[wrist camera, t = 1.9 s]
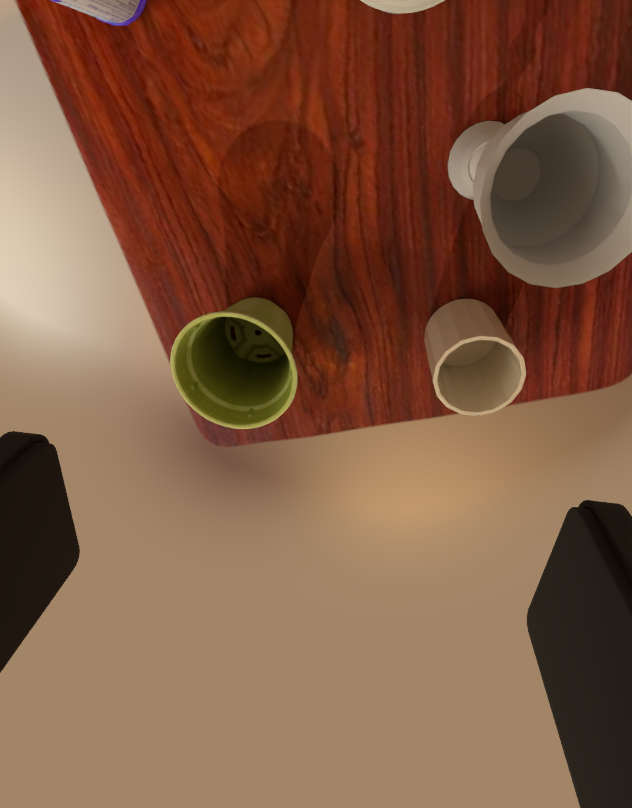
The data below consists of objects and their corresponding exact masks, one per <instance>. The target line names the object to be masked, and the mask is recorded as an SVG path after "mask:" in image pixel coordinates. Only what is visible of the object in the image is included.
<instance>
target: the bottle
mask: <svg viewBox="0 0 632 808" xmlns="http://www.w3.org/2000/svg"><path fill="white" fill-rule="evenodd" d="M51 1H54V2H56V3H59V4H62V5H64V6H67V7H70V8H72V9H75V10H78V11H80V12H83V13H86V14H88V15H91V16H93V17H95V18H97V19H99V20H101V21H103V22H106V23H109V24H111V25H118V26H121V25H128V24H130V23H132V22H134V21H135V20H136V19H137V18H138V17H139V16H140V15H141V14H142V12H143V10H144V7H145V5H146V2H147V0H51Z"/></svg>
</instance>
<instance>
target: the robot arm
mask: <svg viewBox="0 0 632 808" xmlns="http://www.w3.org/2000/svg"><path fill="white" fill-rule="evenodd" d="M79 552H80V550H79V545H78V540H77V536H76V531H75V527H74V523H73V519H72V514H71V510H70V506H69V502H68V497H67V493H66V489H65V485H64V480H63V476H62V472H61V467H60V463H59V459H58V455H57V451H56V448H55V447H54V445H52V444H49V441H48V439H47V438H46V437H45V436H43V435H40V434H31V433H23V432H15V431H13V432H8V433H6V434H4V435H3V436H1V437H0V672H1V671H2V670H3V668H4V667H5V665H6V664H7V662H8V661H9V659H10V658H11V657H12V655H13V654H14V653H15V651H16V650H17V648H18V647H19V646H20V644H21V643H22V641H23V640H24V638H25V637H26V636H27V634H28V633H29V631H30V630H31V629H32V627H33V626H34V624H35V623H36V622H37V620H38V619H39V617H40V616H41V615H42V613H43V612H44V610H45V609H46V607H47V606H48V605H49V603H50V602H51V600H52V599H53V598H54V596H55V595H56V593H57V592H58V591H59V589H60V588H61V586H62V585H63V583H64V582H65V581H66V579H67V578H68V576H69V575H70V574H71V572H72V571H73V569H74V568H75V566H76V564H77V561H78V558H79ZM527 627H528V632H529V636H530V639H531V642H532V645H533V649H534V653H535V656H536V659H537V663H538V666H539V669H540V672H541V676H542V680H543V682H544V686H545V690H546V693H547V696H548V700H549V703H550V707H551V710H552V713H553V717H554V720H555V724H556V726H557V730H558V733H559V737H560V740H561V744H562V747H563V751H564V754H565V757H566V761H567V764H568V767H569V771H570V774H571V777H572V781H573V784H574V788H575V791H576V795H577V798H578V801H579V805H580V808H632V516H631V515H630V513H629V512H628V511H627V509H626V508H625V507H624V506H623V505H620V504H615V503H606V502H598V501H590V500H586V501H583V502H582V503H581V504H580V505H579V507H578V508H577V507H572V508H571V509H569V511H568V513H567V515H566V517H565V520H564V522H563V525H562V528H561V530H560V532H559V535H558V537H557V540H556V542H555V545H554V547H553V550H552V552H551V555H550V557H549V560H548V562H547V565H546V567H545V569H544V572H543V574H542V577H541V579H540V582H539V584H538V587H537V589H536V592H535V594H534V597H533V599H532V602H531V604H530V607H529V609H528V614H527Z"/></svg>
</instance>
